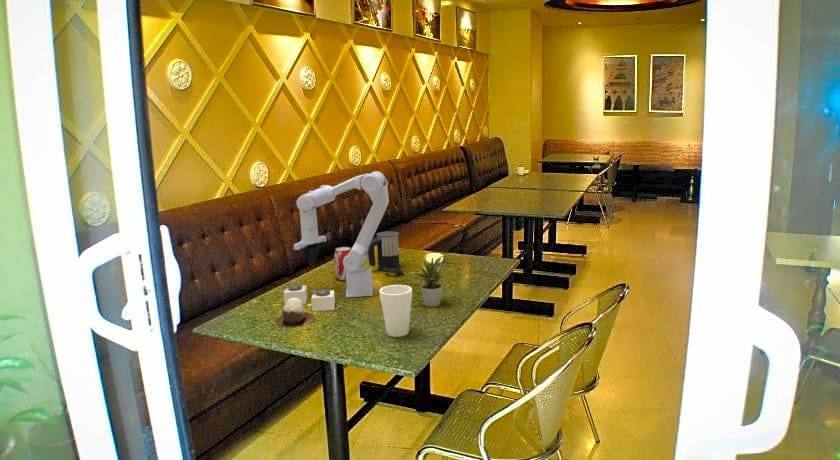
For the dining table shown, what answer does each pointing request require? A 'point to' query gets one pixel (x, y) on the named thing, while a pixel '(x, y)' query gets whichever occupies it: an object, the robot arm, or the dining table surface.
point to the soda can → (340, 262)
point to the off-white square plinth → (323, 302)
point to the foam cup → (396, 308)
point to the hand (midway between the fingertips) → (312, 265)
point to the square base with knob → (296, 294)
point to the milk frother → (386, 252)
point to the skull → (294, 314)
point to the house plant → (431, 282)
